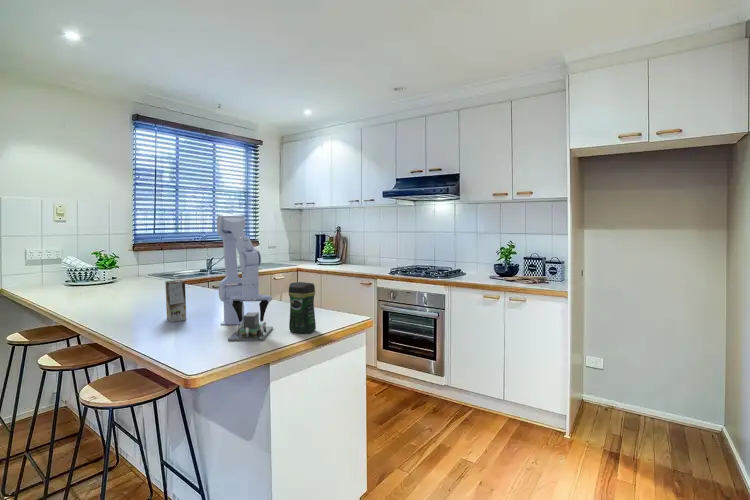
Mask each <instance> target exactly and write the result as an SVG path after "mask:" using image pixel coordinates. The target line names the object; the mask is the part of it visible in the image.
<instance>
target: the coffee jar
mask: <svg viewBox="0 0 750 500" xmlns="http://www.w3.org/2000/svg"><path fill="white" fill-rule="evenodd" d="M315 295H316V288H315V284H314V283H312V282H303V281H297V282H291V283H289V287H288V296H289V303H290V304H289V305H290V306H289V307H290V308H289V322H288V323H289V324H288V325H289V328H288V330H289V331H290V332H292V333H295V334H296V333H297V334H307V333H309V334H311V333H313V332H315V331H316V328H317V325H316V317H315V316H316V315H315V305H314V303H315V301H314V300H315Z"/></svg>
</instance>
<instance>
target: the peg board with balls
mask: <svg viewBox="0 0 750 500" xmlns="http://www.w3.org/2000/svg"><path fill="white" fill-rule="evenodd" d="M262 323H263V325H260V329H259V331H258V332H254V333H249V327H246V333H240V329H241V328H242V327H243V326H244V325H243V322H240V324H237V325H236V327H235V329H236V330H235V332H234V333H233V334H231V336H229V337H228V338H227V341H228V342H261V341H262V342H263V341H265V339H266V338H267V337H268V336H269V334H270V333H271V331H272V330H273V328H274V326H267V321H262Z"/></svg>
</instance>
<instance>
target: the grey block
mask: <svg viewBox="0 0 750 500" xmlns="http://www.w3.org/2000/svg"><path fill="white" fill-rule="evenodd" d="M260 325H263V322H262V323H260V311H259V312H246V314H244V316H243V327H242V328H241V329H240V333H246V327H249V333H254V332H258V331H259V329H260Z"/></svg>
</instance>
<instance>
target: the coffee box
mask: <svg viewBox="0 0 750 500" xmlns="http://www.w3.org/2000/svg"><path fill="white" fill-rule="evenodd" d="M165 300H166V301H165V303H166V304H165V305H166V319H167V320H168V321H169V322H170V323H173V322H175V323H176V322H181V321H186V320H187V307H186V306H187V305H186V304H187V301H186V282H185V281H183V280H181V279H180V280H179V279H176V280H166V281H165Z"/></svg>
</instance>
